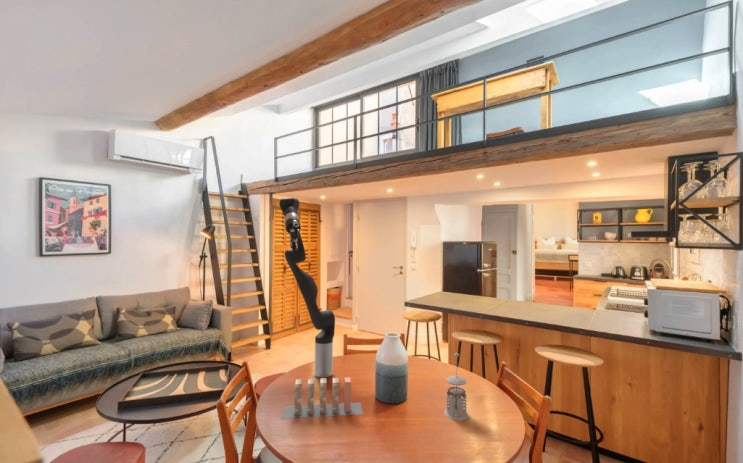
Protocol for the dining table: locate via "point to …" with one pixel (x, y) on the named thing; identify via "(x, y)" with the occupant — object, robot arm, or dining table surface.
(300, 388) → the domino
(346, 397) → the end domino
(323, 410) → the domino
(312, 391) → the domino
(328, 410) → the domino board
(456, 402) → the french press
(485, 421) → the dining table surface
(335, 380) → the domino
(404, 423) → the dining table surface
